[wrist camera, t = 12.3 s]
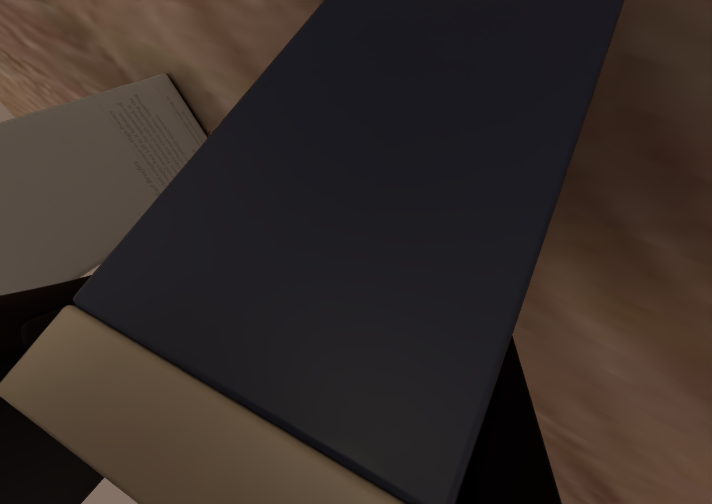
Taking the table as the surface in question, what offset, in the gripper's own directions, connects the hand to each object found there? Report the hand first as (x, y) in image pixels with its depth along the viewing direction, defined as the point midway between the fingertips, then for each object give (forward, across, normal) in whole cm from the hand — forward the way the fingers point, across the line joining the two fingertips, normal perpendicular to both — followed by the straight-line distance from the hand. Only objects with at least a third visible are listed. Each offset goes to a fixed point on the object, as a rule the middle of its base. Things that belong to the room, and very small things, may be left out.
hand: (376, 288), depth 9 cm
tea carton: (+3, 0, +2) cm, 3 cm away
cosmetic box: (+8, +15, +3) cm, 17 cm away
